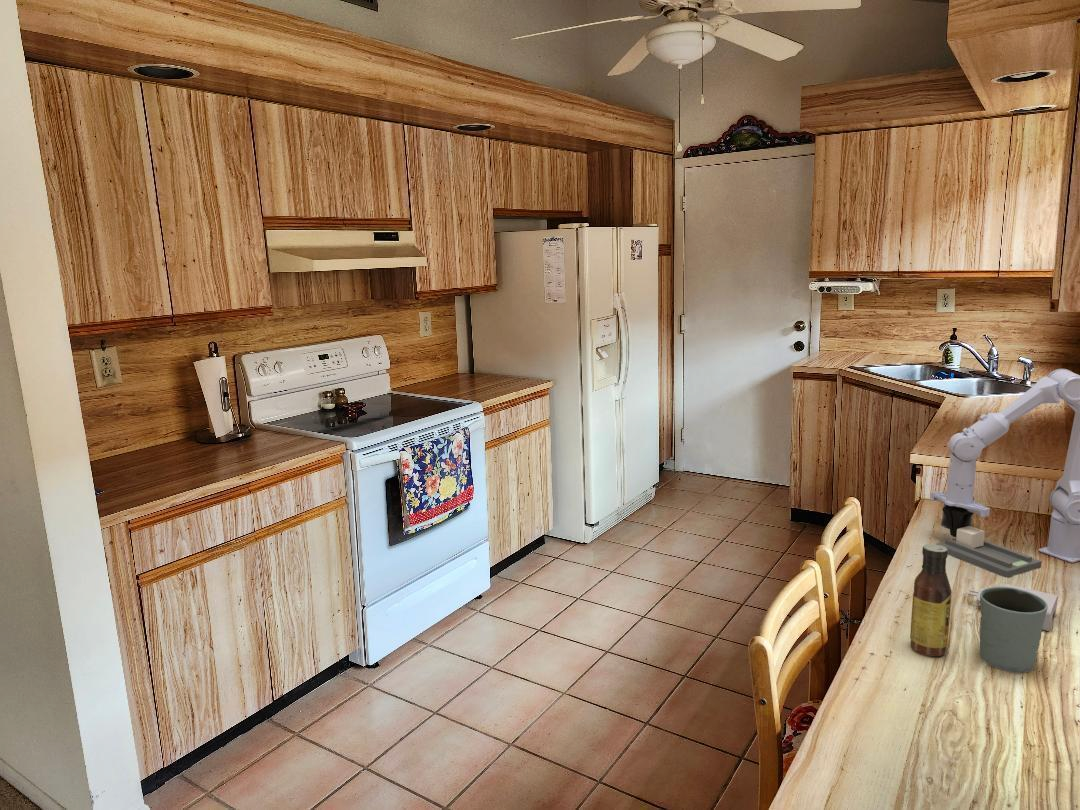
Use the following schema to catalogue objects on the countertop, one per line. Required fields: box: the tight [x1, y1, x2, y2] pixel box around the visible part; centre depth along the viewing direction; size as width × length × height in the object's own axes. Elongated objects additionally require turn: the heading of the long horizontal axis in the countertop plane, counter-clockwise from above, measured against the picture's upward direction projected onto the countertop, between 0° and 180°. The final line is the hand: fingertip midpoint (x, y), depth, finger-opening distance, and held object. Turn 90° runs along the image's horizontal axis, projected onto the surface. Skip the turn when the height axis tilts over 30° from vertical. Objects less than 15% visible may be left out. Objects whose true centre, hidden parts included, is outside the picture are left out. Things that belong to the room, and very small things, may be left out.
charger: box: [966, 583, 1059, 632], centre depth 152 cm, size 5×9×15 cm
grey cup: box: [978, 586, 1048, 674], centre depth 134 cm, size 10×10×12 cm
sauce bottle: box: [909, 543, 953, 657], centre depth 138 cm, size 7×6×20 cm
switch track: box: [935, 537, 1043, 578], centre depth 178 cm, size 12×18×2 cm, turn 24°
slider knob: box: [955, 525, 986, 548], centre depth 182 cm, size 4×4×4 cm
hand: (955, 535), depth 185 cm, fingers closed
